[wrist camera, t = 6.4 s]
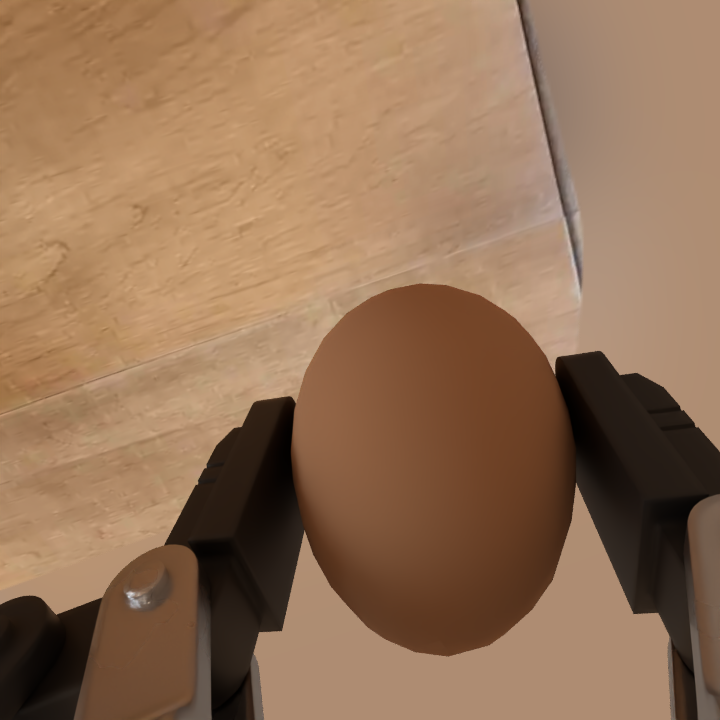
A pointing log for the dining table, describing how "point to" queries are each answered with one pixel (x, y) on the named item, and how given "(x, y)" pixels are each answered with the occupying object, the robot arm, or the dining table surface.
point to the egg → (434, 467)
